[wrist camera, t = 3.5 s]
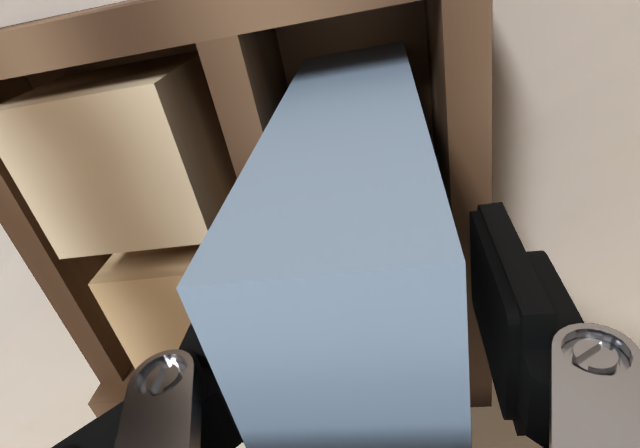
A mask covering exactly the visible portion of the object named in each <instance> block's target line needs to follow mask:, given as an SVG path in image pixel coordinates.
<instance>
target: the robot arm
mask: <svg viewBox="0 0 640 448" xmlns="http://www.w3.org/2000/svg"><path fill="white" fill-rule="evenodd" d="M469 220H470V258H471V294H472V303H473V308H474V312H475V316H476V320H477V323H478V327H479V331H480V334H481V338H482V342H483V346H484V349H485V353H486V357H487V360H488V364H489V368H490V372H491V375H492V379H493V383H494V386H495V390H496V394H497V398H498V401H499V405H500V409H501V412H502V416H503V418H504V420H513V423H514V426H515V430H516V433H517V436H525V435H526V436H527V437H529V438H530V439H532V440H533V441H535V442H536V443H538V444H539V445H541V446H542V448H640V349H639V347H638V346H637V345H636V344H635V343H634V342H633V341H632V340H631V339H630V338H628V337H627V336H625V335H624V334H622V333H621V332H619V331H617V330H615V329H612V328H610V327H607V326H603V325H599V324H594V323H584V321H583V320H582V318H581V316H580V314H579V312H578V310H577V309H576V307H575V305H574V303H573V301H572V299H571V298H570V296H569V294H568V292H567V290H566V288H565V287H564V285H563V283H562V281H561V279H560V277H559V276H558V274H557V272H556V270H555V268H554V266H553V265H552V263H551V261H550V259H549V257H548V255H547V254H546V253H545V252H544V251H532V252H526V251H525V249H524V247H523V245H522V243H521V241H520V238H519V236H518V234H517V232H516V230H515V228H514V226H513V224H512V222H511V220H510V218H509V216H508V214H507V212H506V210H505V207H504V205H503V204H502V202H498V203H489V204H480V205H478V207H477V211H470V214H469ZM242 442H243V439H242V437H241V435H240V433H239V430H238V428H237V426H236V424H235V421H234V419H233V417H232V414H231V412H230V410H229V408H228V405H227V403H226V401H225V398H224V396H223V394H222V392H221V389H220V387H219V385H218V383H217V380H216V378H215V376H214V373H213V371H212V369H211V367H210V364H209V362H208V360H207V358H206V355H205V353H204V351H203V348H202V346H201V344H200V342H199V339H198V337H197V335H196V332H195V330H194V328H193V326H192V323H191V324H190V326H189V328H188V330H187V332H186V334H185V336H184V338H183V340H182V343H181V345H180V347H179V349H171V350H165V351H162V352H159V353H157V354H154V355H153V356H151V357H149V358H148V359H146V360H145V361H144V362H142V363H141V364H140V365H139V366H138V367H137V368H136V369H135V371H134V372H133V373H132V375H131V377H130V379H129V382H128V385H127V390H126V394H125V399H124V401H122V402H121V403H119V404H118V405H116V406H115V407H113V408H112V409H110V410H108V411H107V412H105V413H104V414H102V415H101V416H99V417H98V418H96V419H95V420H93V421H92V422H90V423H89V424H87V425H85V426H84V427H82V428H81V429H79V430H78V431H76V432H75V433H73V434H72V435H70V436H69V437H67V438H66V439H64V440H62V441H61V442H59V443H58V444H56V445H55V446H53V447H52V448H236V447H237V446H238V445H240V444H241V443H242Z"/></svg>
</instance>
